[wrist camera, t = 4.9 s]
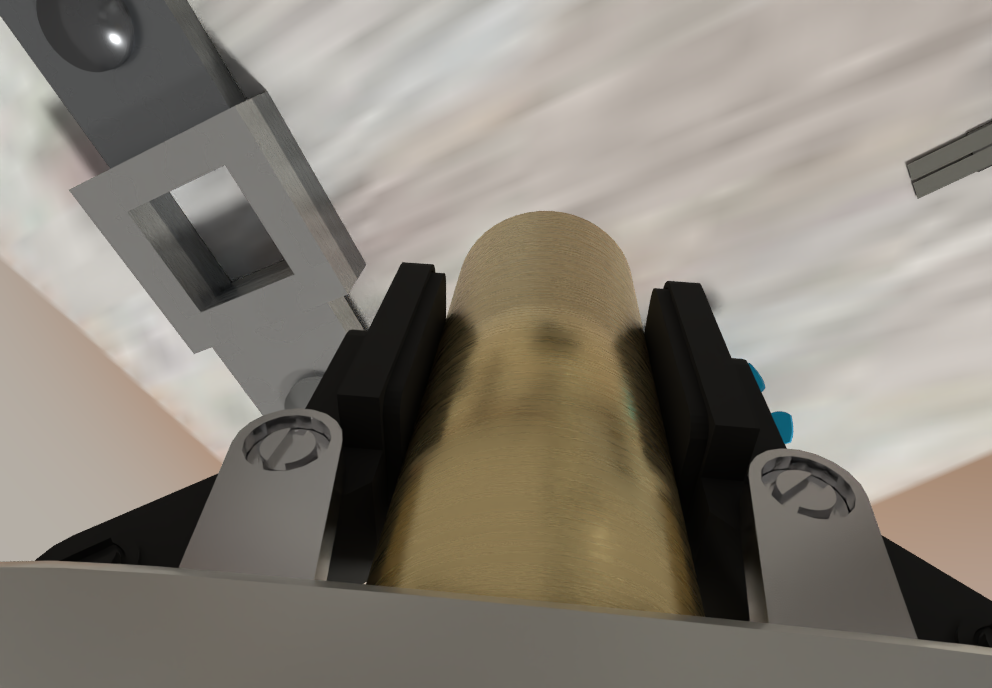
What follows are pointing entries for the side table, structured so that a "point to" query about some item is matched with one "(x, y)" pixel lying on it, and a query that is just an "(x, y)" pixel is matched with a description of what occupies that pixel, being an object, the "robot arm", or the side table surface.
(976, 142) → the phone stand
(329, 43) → the side table surface
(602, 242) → the pin
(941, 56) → the side table surface
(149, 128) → the gray studded rail
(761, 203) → the side table surface
